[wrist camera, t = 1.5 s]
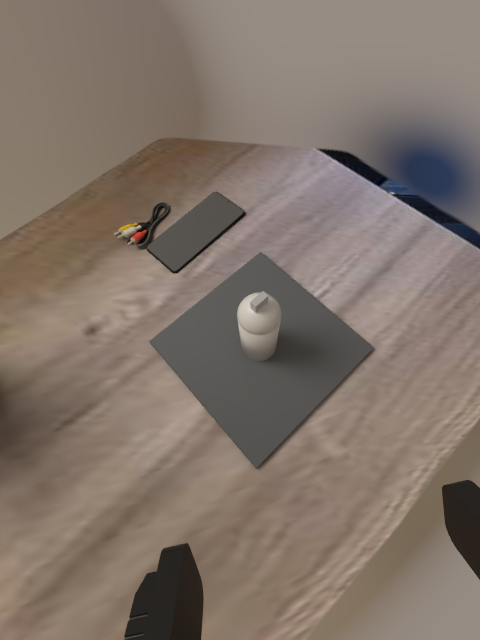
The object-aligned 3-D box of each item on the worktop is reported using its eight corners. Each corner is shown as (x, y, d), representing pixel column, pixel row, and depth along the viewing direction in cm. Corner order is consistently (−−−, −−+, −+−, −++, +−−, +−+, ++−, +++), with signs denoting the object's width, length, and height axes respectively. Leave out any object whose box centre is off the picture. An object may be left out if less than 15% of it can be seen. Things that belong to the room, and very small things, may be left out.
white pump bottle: (234, 343, 40) (224, 298, 28) (259, 321, 41) (259, 269, 29) (258, 368, 38) (258, 330, 27) (283, 345, 39) (294, 299, 28)
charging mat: (150, 343, 41) (148, 341, 40) (260, 254, 46) (260, 251, 45) (255, 468, 34) (255, 468, 34) (371, 349, 39) (373, 347, 39)
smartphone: (144, 247, 47) (215, 189, 51) (146, 251, 48) (216, 194, 51) (174, 273, 45) (246, 211, 48) (176, 276, 46) (246, 215, 49)
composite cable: (162, 203, 51) (158, 191, 49) (183, 217, 50) (179, 206, 47) (116, 242, 48) (109, 231, 46) (137, 258, 47) (131, 248, 45)
